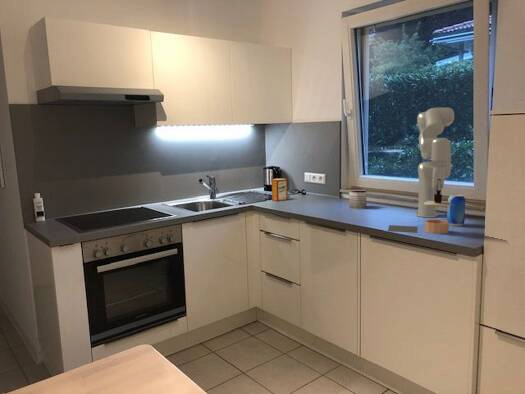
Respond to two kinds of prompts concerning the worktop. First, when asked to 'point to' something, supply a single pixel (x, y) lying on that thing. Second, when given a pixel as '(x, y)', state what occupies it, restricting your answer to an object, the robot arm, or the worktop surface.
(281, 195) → the baking soda box
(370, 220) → the worktop surface
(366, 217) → the worktop surface
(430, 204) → the lid
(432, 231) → the bowl
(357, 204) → the ribbed plant pot
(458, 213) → the beer can
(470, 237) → the worktop surface
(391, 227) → the mat
